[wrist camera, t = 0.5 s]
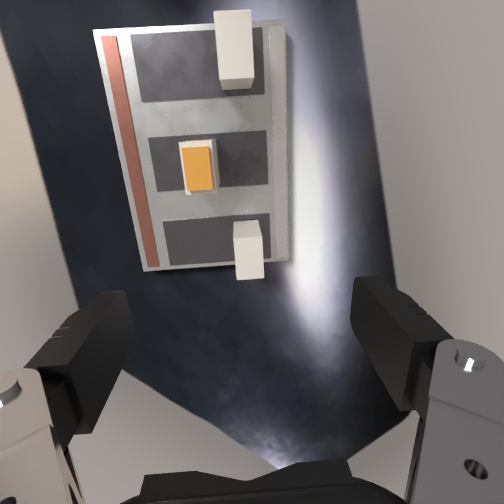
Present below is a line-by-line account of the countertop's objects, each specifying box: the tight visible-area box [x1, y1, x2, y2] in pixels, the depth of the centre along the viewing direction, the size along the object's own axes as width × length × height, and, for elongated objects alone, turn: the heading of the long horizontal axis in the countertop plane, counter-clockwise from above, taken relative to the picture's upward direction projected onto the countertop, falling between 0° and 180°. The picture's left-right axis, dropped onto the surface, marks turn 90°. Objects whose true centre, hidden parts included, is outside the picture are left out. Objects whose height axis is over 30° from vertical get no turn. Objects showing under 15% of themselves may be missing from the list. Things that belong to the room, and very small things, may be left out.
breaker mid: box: [179, 139, 220, 195], centre depth 26 cm, size 4×2×6 cm, turn 3°
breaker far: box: [233, 220, 264, 280], centre depth 29 cm, size 4×2×6 cm, turn 3°
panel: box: [93, 19, 289, 271], centre depth 30 cm, size 22×16×2 cm
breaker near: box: [213, 9, 254, 90], centre depth 23 cm, size 4×2×6 cm, turn 3°
